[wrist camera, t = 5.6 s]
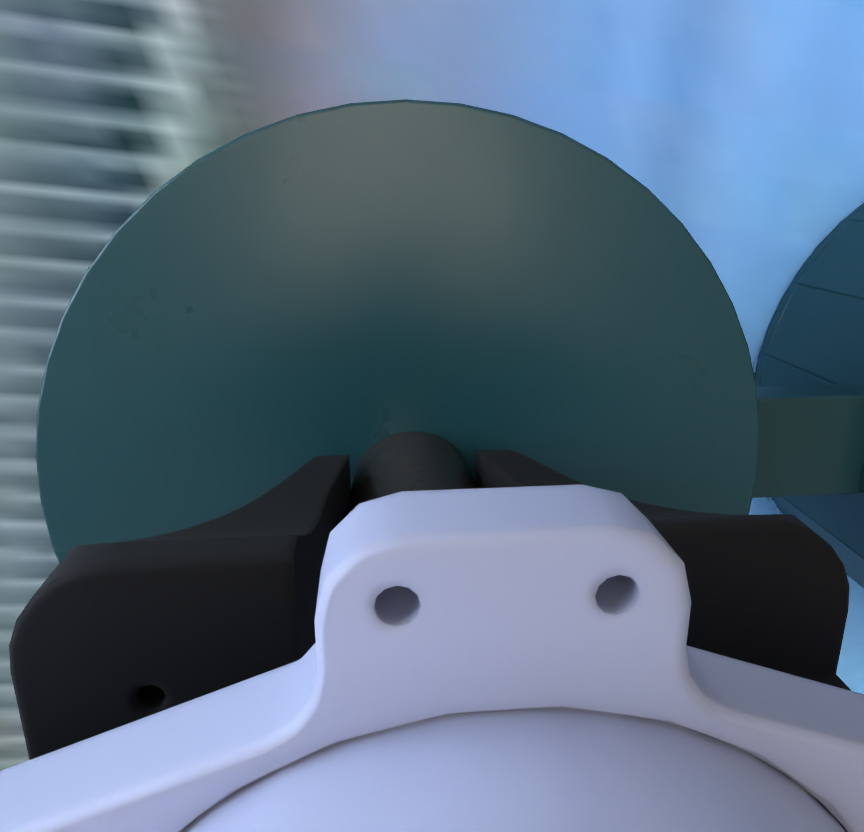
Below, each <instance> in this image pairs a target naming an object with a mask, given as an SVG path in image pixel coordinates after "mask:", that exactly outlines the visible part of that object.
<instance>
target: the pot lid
mask: <svg viewBox="0 0 864 832" xmlns="http://www.w3.org/2000/svg"><path fill="white" fill-rule="evenodd" d="M759 435H760V430H759V415H758V399H757V388H756V383H755V378H754V373H753V368H752V363H751V359H750V354H749V349H748V345H747V342H746V339H745V336H744V334H743V331H742V328H741V325H740V322H739V320H738V317H737V314H736V311H735V309H734V306H733V303H732V301H731V299H730V297H729V295H728V294H727V292H726V290H725V288H724V286H723V284H722V282H721V280H720V279H719V277H718V275H717V273H716V271H715V269H714V267H713V265H712V264H711V262H710V260H709V259H708V258H707V256H706V255H705V254H704V252H703V251H702V249H701V248H700V247H699V245H698V244H697V243H696V241H695V240H694V239H693V237H692V236H691V235H690V233H689V232H688V230H687V229H686V228H685V226H684V225H683V224H682V223H681V222H680V221H679V220H678V219H677V218H676V217H675V216H674V215H673V214H672V212H671V211H670V210H669V209H668V208H667V207H666V206H665V205H664V204H663V203H662V202H661V201H660V200H659V199H658V198H657V197H656V196H655V195H654V194H653V193H652V192H651V191H650V190H649V189H648V188H646V187H645V186H644V185H642V184H641V183H640V182H638V181H637V180H636V179H634V178H633V177H632V176H630V175H629V174H628V173H627V172H625V171H624V170H623V169H621V168H620V167H619V166H617V165H616V164H615V163H613V162H612V161H611V160H609V159H608V158H606V157H604V156H603V155H601V154H599V153H597V152H595V151H593V150H592V149H590V148H588V147H586V146H584V145H583V144H581V143H579V142H577V141H575V140H573V139H572V138H570V137H568V136H566V135H564V134H562V133H560V132H557V131H554V130H552V129H549V128H546V127H544V126H541V125H538V124H536V123H533V122H530V121H528V120H525V119H522V118H520V117H517V116H514V115H511V114H506V113H501V112H497V111H492V110H488V109H483V108H479V107H474V106H470V105H465V104H460V103H447V102H433V101H419V100H392V101H377V102H363V103H350V104H345V105H341V106H336V107H331V108H327V109H322V110H317V111H313V112H308V113H303V114H299V115H295V116H292V117H290V118H287V119H284V120H282V121H279V122H276V123H274V124H271V125H268V126H265V127H263V128H260V129H257V130H255V131H252V132H249V133H246V134H244V135H242V136H240V137H239V138H237V139H235V140H233V141H231V142H229V143H228V144H226V145H224V146H222V147H220V148H218V149H217V150H215V151H213V152H211V153H209V154H207V155H205V156H204V157H202V158H200V159H198V160H196V161H195V162H194V163H192V164H191V165H190V166H188V167H187V168H186V169H184V170H183V171H182V172H180V173H179V174H178V175H176V176H175V177H174V178H172V179H171V180H170V181H168V182H167V183H166V184H164V185H163V186H162V187H160V188H159V189H158V190H156V191H155V192H154V193H153V194H152V195H151V196H150V197H149V198H148V199H147V200H146V201H145V202H144V203H143V204H142V205H141V206H140V207H139V208H138V209H137V210H136V211H135V212H134V213H133V214H132V215H131V216H130V217H129V218H128V219H127V220H126V221H125V222H124V223H123V224H122V225H121V226H120V227H119V228H118V229H117V230H116V231H115V233H114V234H113V236H112V237H111V238H110V240H109V241H108V242H107V244H106V245H105V246H104V248H103V249H102V250H101V252H100V253H99V255H98V256H97V257H96V259H95V260H94V261H93V263H92V264H91V265H90V267H89V268H88V270H87V271H86V273H85V274H84V276H83V278H82V280H81V282H80V284H79V286H78V288H77V290H76V292H75V293H74V295H73V297H72V299H71V301H70V303H69V305H68V307H67V309H66V311H65V312H64V314H63V316H62V319H61V322H60V325H59V328H58V331H57V334H56V336H55V339H54V342H53V345H52V348H51V351H50V354H49V357H48V359H47V362H46V368H45V373H44V378H43V384H42V389H41V394H40V400H39V405H38V413H37V441H36V462H37V471H38V480H39V489H40V498H41V505H42V508H43V512H44V516H45V520H46V524H47V528H48V531H49V535H50V539H51V543H52V546H53V549H54V551H55V554H56V556H57V558H58V561H59V563H60V562H61V561H62V560H63V559H64V557H65V556H66V555H67V554H68V553H69V552H70V550H71V549H72V548H73V547H74V546H79V545H89V544H101V543H112V542H122V541H130V540H136V539H142V538H147V537H153V536H158V535H163V534H167V533H171V532H175V531H179V530H183V529H186V528H189V527H192V526H195V525H198V524H201V523H204V522H207V521H210V520H213V519H216V518H218V517H221V516H223V515H226V514H228V513H230V512H232V511H234V510H236V509H239V508H241V507H243V506H245V505H246V504H248V503H250V502H252V501H254V500H255V499H257V498H259V497H260V496H262V495H263V494H265V493H266V492H268V491H269V490H271V489H272V488H274V487H275V486H277V485H278V484H280V483H281V482H283V481H284V480H285V479H287V478H288V477H289V476H291V475H292V474H293V473H294V472H296V471H297V470H298V469H300V468H301V467H302V466H303V465H305V464H306V463H307V462H308V461H310V460H311V459H312V458H314V457H316V456H335V455H349V465H350V488H351V492H350V508H349V513H350V512H351V511H352V510H353V509H354V508H355V507H356V506H357V505H358V504H359V503H363V502H366V501H369V500H373V499H376V498H380V497H383V496H387V495H390V494H394V493H397V492H401V491H425V490H451V489H477V486H476V451H480V450H513V451H515V452H518V453H520V454H522V455H524V456H526V457H528V458H530V459H532V460H534V461H536V462H538V463H540V464H542V465H544V466H546V467H548V468H550V469H552V470H554V471H556V472H558V473H560V474H563V475H565V476H567V477H569V478H571V479H573V480H576V481H578V482H581V483H583V484H586V485H588V486H591V487H596V488H600V489H605V490H610V491H614V492H619V493H622V494H623V495H624V496H625V497H626V498H627V499H630V500H634V501H638V502H642V503H647V504H651V505H657V506H662V507H668V508H673V509H679V510H686V511H694V512H704V513H716V514H728V515H748V514H749V509H750V504H751V500H752V495H753V490H754V485H755V480H756V476H757V463H758V449H759Z"/></svg>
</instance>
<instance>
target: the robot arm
mask: <svg viewBox="0 0 864 832" xmlns="http://www.w3.org/2000/svg"><path fill="white" fill-rule="evenodd" d="M476 486H477V489H451V490H425V491H401V492H397V493H394V494H390V495H387V496H383V497H380V498H376V499H373V500H369V501H366V502H363V503H359V504H358V505H357V506H356V507H355V508H354V509H353V510H352V511H351V512H350V513H349V508H350V492H351V488H350V465H349V455H335V456H316V457H314V458H312V459H311V460H310V461H308V462H307V463H306V464H305V465H303V466H302V467H301V468H300V469H298V470H297V471H296V472H294V473H293V474H292V475H291V476H289V477H288V478H287V479H285V480H284V481H283V482H281V483H280V484H278V485H277V486H275V487H274V488H272V489H271V490H269V491H268V492H266V493H265V494H263V495H262V496H260V497H259V498H257V499H255V500H254V501H252V502H250V503H248V504H246V505H245V506H243V507H241V508H239V509H236V510H234V511H232V512H230V513H228V514H226V515H223V516H221V517H218V518H216V519H213V520H210V521H207V522H204V523H201V524H198V525H195V526H192V527H189V528H186V529H183V530H179V531H175V532H171V533H167V534H163V535H158V536H153V537H147V538H142V539H136V540H130V541H122V542H112V543H101V544H89V545H79V546H74V547H73V548H72V549H71V550H70V552H69V553H68V554H67V555H66V556H65V557H64V559H63V560H62V561H61V562H60V563H59V565H58V566H57V567H56V568H55V570H54V571H53V572H52V573H51V574H50V576H49V577H48V578H47V579H46V581H45V582H44V583H43V584H42V586H41V587H40V588H39V589H38V591H37V592H36V593H35V594H34V595H33V597H32V598H31V600H30V601H29V602H28V604H27V605H26V607H25V608H24V610H23V611H22V613H21V614H20V616H19V617H18V619H17V620H16V623H15V627H14V631H13V634H12V638H11V641H10V645H9V651H10V669H11V676H12V681H13V685H14V690H15V694H16V699H17V704H18V708H19V713H20V718H21V722H22V727H23V731H24V736H25V741H26V745H27V750H28V754H29V759H30V760H29V761H26V762H23V763H21V764H18V765H15V766H12V767H10V768H7V769H4V770H2V771H0V832H864V694H860V693H857V692H853V691H851V690H850V689H849V688H848V687H847V686H846V685H845V683H844V682H843V681H842V680H841V679H840V678H839V677H838V676H837V675H836V670H837V665H838V660H839V655H840V650H841V644H842V639H843V634H844V629H845V624H846V619H847V613H848V604H849V583H848V579H847V575H846V572H845V568H844V564H843V563H842V561H841V560H840V558H839V557H838V555H837V554H836V552H835V551H834V549H833V548H832V546H831V545H830V544H829V543H828V542H826V541H825V540H824V539H823V538H821V537H820V536H819V535H818V534H816V533H815V532H814V531H813V530H812V529H810V528H809V527H808V526H807V525H805V524H804V523H803V522H802V521H801V520H799V519H798V518H797V517H796V516H794V515H728V514H716V513H704V512H694V511H686V510H679V509H673V508H668V507H662V506H657V505H651V504H647V503H642V502H638V501H634V500H630V499H627V498H626V497H625V496H624V495H623V494H622V493H619V492H614V491H610V490H605V489H600V488H596V487H591V486H588V485H586V484H583V483H581V482H578V481H576V480H573V479H571V478H569V477H567V476H565V475H563V474H560V473H558V472H556V471H554V470H552V469H550V468H548V467H546V466H544V465H542V464H540V463H538V462H536V461H534V460H532V459H530V458H528V457H526V456H524V455H522V454H520V453H518V452H515V451H513V450H480V451H476Z"/></svg>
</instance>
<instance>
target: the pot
mask: <svg viewBox="0 0 864 832" xmlns="http://www.w3.org/2000/svg"><path fill="white" fill-rule="evenodd" d="M755 383H756V388H757V399H758V415H759V430H760V435H759V449H758V463H757V476H756V480H755V485H754V490H753V495H752V498H755V497H772V498H773V500H774V501H775V503H776V505H777V507H778V508H779V510H780V511H781V512H782V514H783V515H794V516H796V517H797V518H798V519H799V520H801V521H802V522H803V523H804V524H805V525H807V526H808V527H809V528H810V529H812V530H813V531H814V532H815V533H816V534H818V535H819V536H820V537H821V538H823V539H824V540H825V541H826V542H828V543H829V544H830V545H831V546H832V548H833V549H834V551H835V552H836V554H837V555H838V557H839V558H840V560H841V561H842V563H843V564H844V568H845V572H846V574H847V575H849V576H850V577H851V578H852V579H853V580H855V581H856V582H857V583H858V584H860V585H861V586H862V587H863V588H864V203H863V204H862V205H861V206H860V207H859V208H857V209H856V210H855V211H854V212H853V213H851V214H850V215H849V216H848V217H847V218H845V219H844V220H843V221H842V222H841V223H840V224H839V225H838V226H837V227H836V228H835V229H834V230H833V231H832V232H831V233H830V234H829V235H828V236H827V237H826V238H825V239H824V240H823V242H822V243H821V244H820V245H819V246H818V247H817V248H816V250H815V251H814V252H813V253H812V255H811V256H810V257H809V259H808V260H807V261H806V263H805V264H804V265H803V266H802V268H801V269H800V270H799V272H798V273H797V275H796V277H795V278H794V280H793V281H792V283H791V285H790V286H789V288H788V290H787V291H786V293H785V295H784V296H783V298H782V300H781V302H780V304H779V306H778V308H777V310H776V312H775V315H774V317H773V319H772V321H771V323H770V325H769V328H768V330H767V333H766V337H765V340H764V343H763V346H762V349H761V352H760V355H759V358H758V363H757V368H756V374H755Z"/></svg>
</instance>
